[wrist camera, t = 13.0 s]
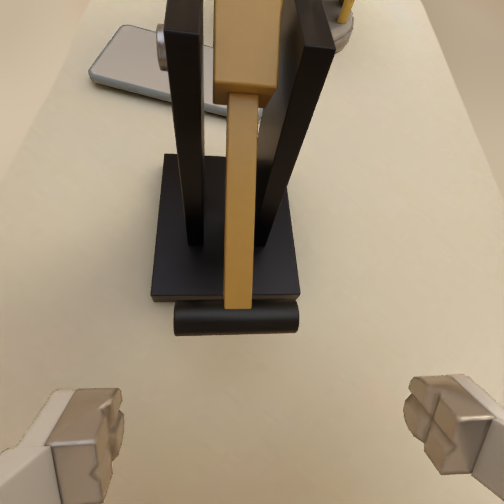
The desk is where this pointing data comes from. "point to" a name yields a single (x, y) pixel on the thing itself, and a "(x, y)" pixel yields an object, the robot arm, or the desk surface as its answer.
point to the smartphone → (145, 68)
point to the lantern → (339, 20)
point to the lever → (241, 170)
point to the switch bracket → (214, 167)
